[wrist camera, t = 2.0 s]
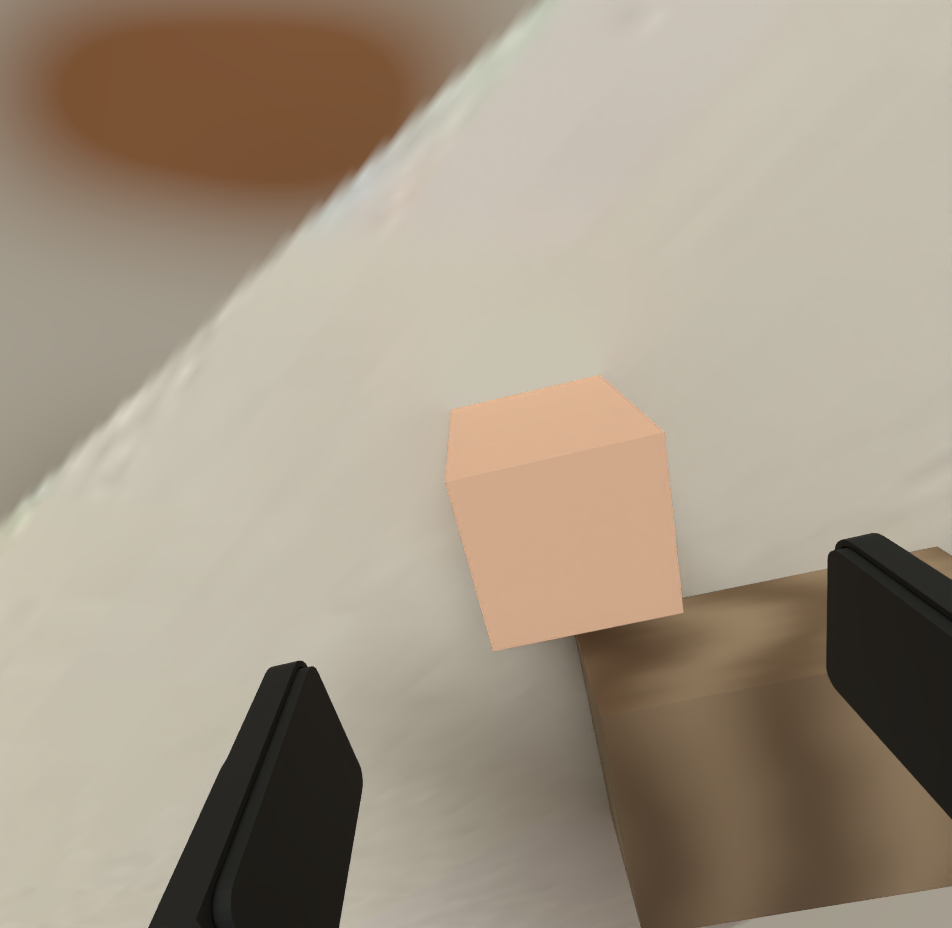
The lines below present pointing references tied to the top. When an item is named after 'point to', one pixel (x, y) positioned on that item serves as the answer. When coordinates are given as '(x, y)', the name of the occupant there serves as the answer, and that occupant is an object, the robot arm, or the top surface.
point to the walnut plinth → (751, 763)
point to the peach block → (563, 512)
